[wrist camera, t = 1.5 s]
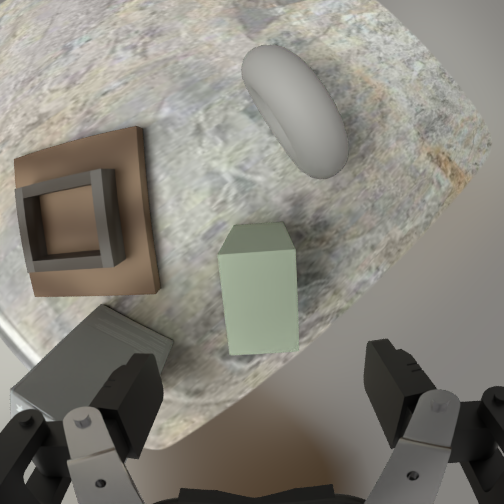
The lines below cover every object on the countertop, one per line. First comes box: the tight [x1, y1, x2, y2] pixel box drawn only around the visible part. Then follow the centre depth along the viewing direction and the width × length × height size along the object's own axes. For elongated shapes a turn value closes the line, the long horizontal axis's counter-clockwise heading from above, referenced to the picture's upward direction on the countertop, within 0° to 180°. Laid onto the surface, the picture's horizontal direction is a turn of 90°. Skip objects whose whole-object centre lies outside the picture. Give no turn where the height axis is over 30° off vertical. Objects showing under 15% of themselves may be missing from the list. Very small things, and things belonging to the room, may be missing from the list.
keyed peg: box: [218, 222, 299, 355], centre depth 22 cm, size 6×4×10 cm, turn 5°
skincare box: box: [10, 304, 173, 464], centre depth 22 cm, size 8×7×16 cm
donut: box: [241, 45, 349, 179], centre depth 19 cm, size 10×3×10 cm, turn 32°
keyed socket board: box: [14, 126, 161, 297], centre depth 24 cm, size 14×14×4 cm
